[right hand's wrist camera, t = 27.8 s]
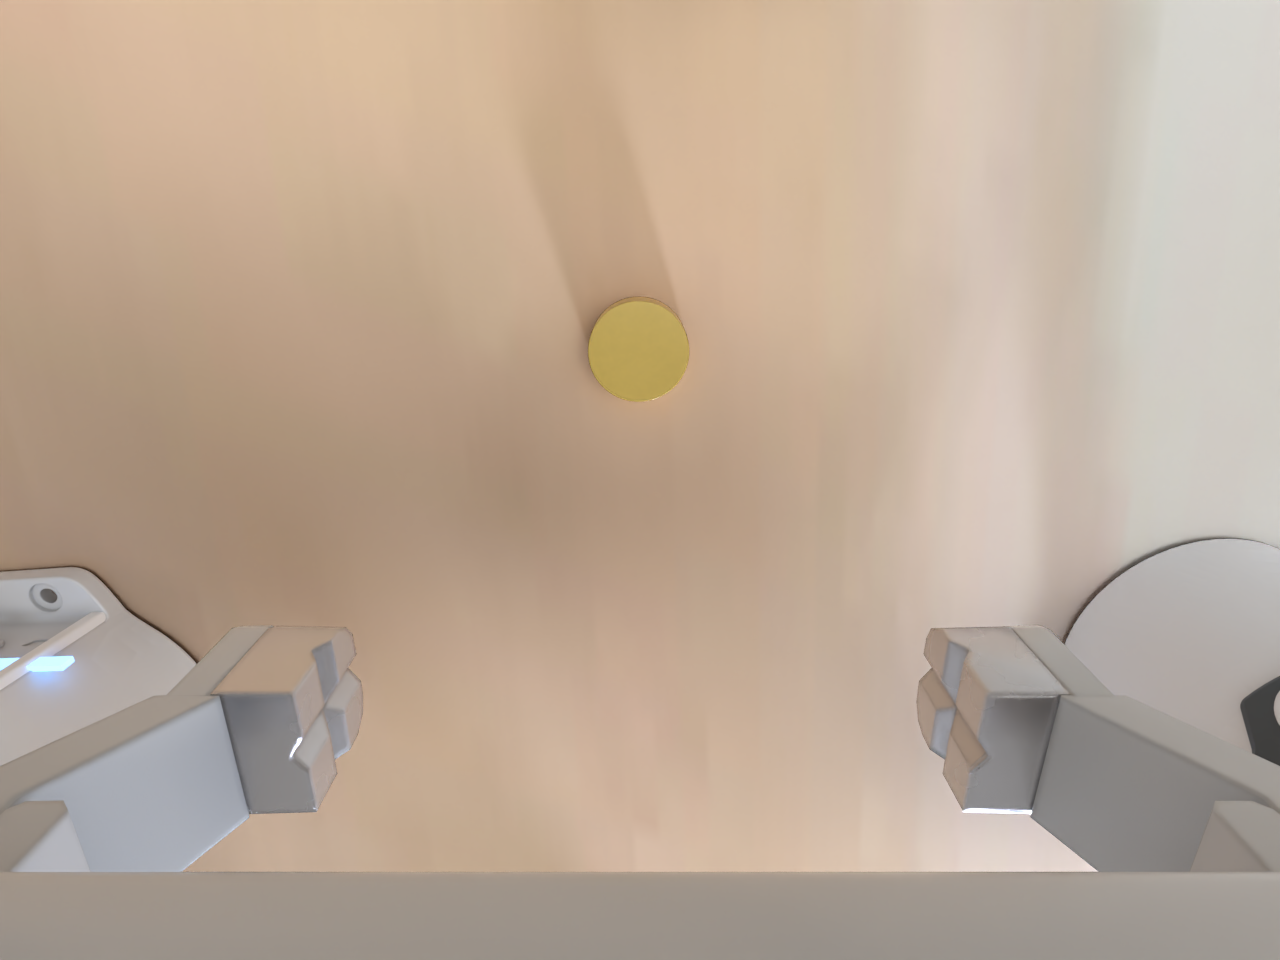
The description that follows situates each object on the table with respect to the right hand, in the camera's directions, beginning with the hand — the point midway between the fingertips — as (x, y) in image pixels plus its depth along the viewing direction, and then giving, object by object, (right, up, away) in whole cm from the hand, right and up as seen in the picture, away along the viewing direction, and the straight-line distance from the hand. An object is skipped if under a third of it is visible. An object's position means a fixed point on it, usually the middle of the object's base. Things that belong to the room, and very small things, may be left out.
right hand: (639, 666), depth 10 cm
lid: (0, +9, +23) cm, 25 cm away
